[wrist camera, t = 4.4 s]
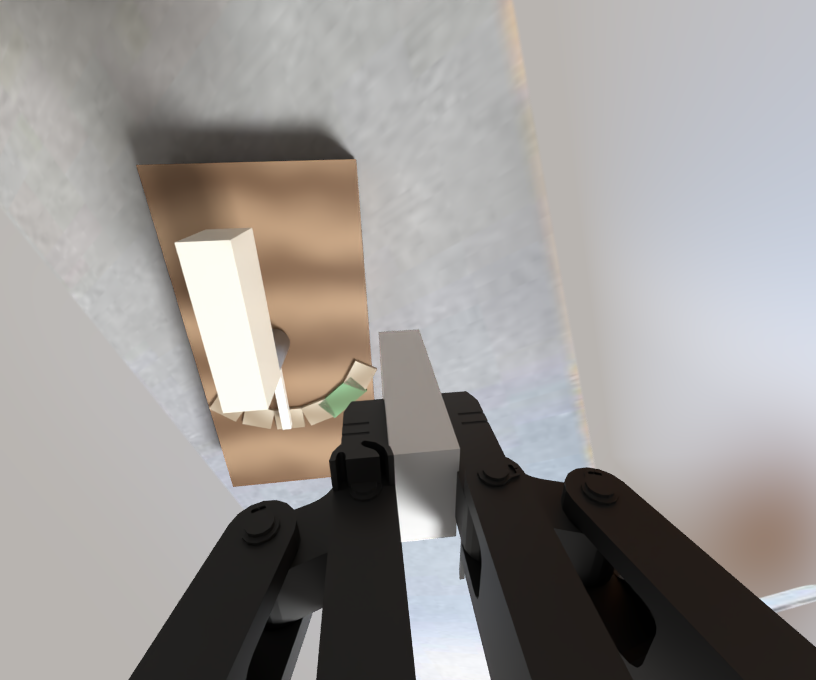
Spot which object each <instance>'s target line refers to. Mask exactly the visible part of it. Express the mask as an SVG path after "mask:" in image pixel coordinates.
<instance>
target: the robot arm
mask: <svg viewBox="0 0 816 680" xmlns="http://www.w3.org/2000/svg"><path fill="white" fill-rule="evenodd" d="M379 345H380V362H381V380H382V396H383V399H376V400H364V401H351V403H350V404H349V405H348V407H347V408H346V409H345V411H344V413H343V426H342V438H341V444H340V445H339V446H338V447H337V448H336V449H335V450H334V451H333V452H332V454H331V457H330V459H329V466H330V473H331V480H332V487H333V488H332V489H331V490H330V491H329V492H328V493H327V494H326V495H325V496H323V497H322V498H321V499H319V500H317V501H315V502H313V503H311V504H308V505H306V506H303V507H300V508H298V509H295V510H294V509H293V508H292V507H290V506H289V505H288V504H287V503H284V502H281V501H278V500H272V501H262V502H260V503H257V504H254V505H251V506H249V507H248V508H246V509H245V510H243V511H242V512H240V513H239V514H238V515H237V516H236V517H235V518H234V519H233V520H232V522H231V523H230V524H229V525H228V527H227V528H226V530H225V531H224V533H223V534H222V536H221V538H220V539H219V541H218V542H217V544H216V545H215V547H214V548H213V550H212V551H211V553H210V555H209V556H208V558H207V559H206V561H205V562H204V564H203V565H202V567H201V568H200V570H199V572H198V573H197V575H196V576H195V578H194V579H193V581H192V582H191V584H190V586H189V587H188V589H187V590H186V592H185V593H184V595H183V596H182V598H181V599H180V601H179V602H178V604H177V606H176V607H175V609H174V610H173V612H172V613H171V615H170V617H169V618H168V620H167V621H166V623H165V624H164V626H163V627H162V629H161V630H160V632H159V633H158V635H157V637H156V638H155V640H154V641H153V643H152V645H151V646H150V647H149V649H148V650H147V652H146V653H145V655H144V657H143V658H142V660H141V661H140V663H139V664H138V666H137V667H136V669H135V670H134V672H133V674H132V675H131V677H130V678H129V680H291V677H292V674H293V671H294V668H295V664H296V662H297V658H298V655H299V652H300V649H301V646H302V643H303V640H304V637H305V634H306V631H307V628H308V625H309V622H310V619H311V616H312V613H313V612H315V611H317V610H319V609H321V608H323V610H322V622H321V634H320V644H319V655H318V667H317V678H316V680H416V676H415V666H414V657H413V647H412V638H411V629H410V619H409V610H408V600H407V591H406V581H405V572H404V562H403V553H402V543H401V542H408V541H417V540H426V539H435V538H444V537H453V536H456V523H457V526H458V530H459V534H460V537H461V549H460V567H459V575H460V579H464V576H465V577H466V581H467V585H468V589H469V593H470V597H471V601H472V605H473V609H474V613H475V617H476V621H477V625H478V629H479V633H480V637H481V641H482V645H483V649H484V653H485V657H486V661H487V666H488V670H489V674H490V678H491V680H816V647H815V646H814V645H813V644H811V643H810V642H809V641H808V640H807V639H806V638H805V637H803V636H802V635H801V634H799V632H797V631H796V630H795V629H794V628H793V627H792V626H790V625H789V624H788V623H787V622H786V621H785V620H784V619H782V618H781V617H780V616H779V615H778V614H777V613H775V612H774V611H773V610H772V609H771V608H770V607H768V606H767V605H766V604H765V603H764V602H763V601H761V600H760V599H759V598H758V597H757V596H755V595H754V594H753V593H752V592H751V591H750V590H749V589H747V588H746V587H745V586H744V585H743V584H742V583H740V582H739V581H738V580H737V579H735V577H733V576H732V575H731V574H730V573H729V572H727V571H726V570H725V569H724V568H723V567H722V566H721V565H719V564H718V563H717V562H716V561H715V560H714V559H712V558H711V557H710V556H709V555H708V554H707V553H706V552H704V551H703V550H702V549H701V548H700V547H699V546H697V545H696V544H695V543H694V542H693V541H692V540H690V539H689V538H688V537H687V536H686V535H685V534H683V533H682V532H681V531H680V530H679V529H678V528H676V527H675V526H674V525H673V524H671V522H669V521H668V520H667V519H666V518H665V517H664V516H662V515H661V514H660V513H659V512H658V511H657V510H655V509H654V508H653V507H652V506H651V505H649V504H648V503H647V502H646V501H645V500H644V499H642V498H641V497H640V496H639V495H638V494H637V493H635V492H634V491H633V490H632V489H631V488H630V487H629V486H627V485H626V484H625V483H624V482H623V481H621V480H620V479H618V478H617V477H615V476H614V475H612V474H610V473H607V472H605V471H602V470H600V469H594V468H587V467H586V468H579V469H575V470H573V471H571V472H570V473H568V475H567V477H566V479H565V482H564V483H563V482H557V481H551V480H544V479H539V478H535V477H531V476H529V475H526V474H525V473H524V471H523V470H522V469H521V467H520V466H519V465H518V464H517V463H515V462H514V461H512V460H511V459H509V458H507V457H505V455H504V453H503V451H502V449H501V447H500V445H499V443H498V441H497V439H496V437H495V435H494V433H493V431H492V429H491V427H490V425H489V423H488V422H487V418H486V416H485V414H484V413H483V410H482V408H481V406H480V404H479V402H478V400H477V399H475V398H474V397H473V396H472V395H470V394H469V393H468V392H467V391H464V392H452V393H441V392H440V389H439V386H438V383H437V380H436V377H435V375H434V372H433V369H432V366H431V363H430V360H429V357H428V354H427V351H426V348H425V346H424V343H423V340H422V337H421V334H420V331H419V330H404V331H387V332H379Z"/></svg>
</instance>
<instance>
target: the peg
mask: <svg viewBox="0 0 816 680" xmlns="http://www.w3.org/2000/svg"><path fill="white" fill-rule="evenodd" d="M174 243H175V246H176V250H177V253H178V257H179V260H180V264H181V267H182V271H183V274H184V278H185V281H186V285H187V288H188V292H189V295H190V299H191V302H192V306H193V309H194V313H195V316H196V320H197V323H198V327H199V330H200V334H201V337H202V341H203V344H204V348H205V351H206V355H207V358H208V362H209V365H210V369H211V372H212V376H213V379H214V383H215V386H216V390H217V393H218V397H219V401H220V404H221V408H222V411H223V413H232V412H244V411H256V410H268V408H269V406H270V403H271V401H272V398H273V395H274V393H275V395H276V399H277V404H278V409H279V414H280V419H281V423H282V428H283V430H285V429H291V428H292V420H291V415H290V410H289V405H288V399H287V394H286V389H285V384H284V379H283V373H282V368H281V367H282V365H283V362H284V360H285V357H286V355H287V352H288V350H289V347H290V340H289V337H288V336H287V335H286V334H285V333H284V332H283V331H281V330H279V329H272V327H271V322H270V317H269V312H268V307H267V301H266V296H265V291H264V286H263V281H262V276H261V271H260V266H259V260H258V255H257V250H256V245H255V240H254V235H253V230H252V228H230V229H206V230H203V231H201V232H198V233H196V234H194V235H191V236H189V237H186V238H184V239H182V240H179V241H177V242H174Z"/></svg>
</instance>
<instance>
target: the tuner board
mask: <svg viewBox="0 0 816 680" xmlns="http://www.w3.org/2000/svg"><path fill="white" fill-rule="evenodd" d="M136 166H137V169H138V173H139V176H140V179H141V183H142V186H143V189H144V193H145V196H146V199H147V203H148V206H149V209H150V213H151V216H152V219H153V222H154V226H155V229H156V232H157V236H158V239H159V242H160V246H161V249H162V252H163V256H164V259H165V262H166V266H167V269H168V272H169V276H170V279H171V282H172V285H173V289H174V292H175V295H176V299H177V302H178V305H179V309H180V312H181V315H182V319H183V322H184V325H185V329H186V332H187V335H188V338H189V342H190V345H191V348H192V352H193V355H194V358H195V362H196V365H197V368H198V372H199V375H200V378H201V382H202V385H203V388H204V392H205V395H206V398H207V401H208V405H209V409H210V411H211V415H212V418H213V421H214V425H215V428H216V431H217V435H218V438H219V441H220V445H221V448H222V451H223V454H224V458H225V461H226V464H227V468H228V471H229V474H230V478H231V481H232V484H233V487H236V486H246V485H256V484H266V483H276V482H286V481H296V480H306V479H316V478H326V477H331V473H330V466H329V459H330V457H331V454H332V452H333V451H334V450H335V449H336V448H337V447H338V446H339V445H340V444H341V438H342V426H343V413H344V411H345V409H346V408H347V407H348V405H349V404H350V403H351V401H364V400H374V389H373V376H374V374H375V372H376V371H377V368H375V367H373V366H372V362H371V349H370V336H369V322H368V309H367V296H366V283H365V269H364V256H363V243H362V230H361V216H360V203H359V190H358V177H357V163H356V159H345V160H307V161H269V162H231V163H193V164H155V165H136ZM230 228H252V230H253V235H254V240H255V245H256V250H257V255H258V260H259V266H260V271H261V276H262V281H263V286H264V291H265V296H266V301H267V307H268V312H269V317H270V322H271V327H272V329H279V330H281V331H283V332H284V333H285V334H286V335H287V336H288V337H289V340H290V347H289V350H288V352H287V355H286V357H285V360H284V362H283V365H282V367H281V368H282V373H283V379H284V384H285V389H286V394H287V399H288V405H289V410H290V415H291V420H292V428H291V429H285V430H283V428H282V423H281V419H280V414H279V409H278V404H277V399H276V395H275V393H274V395H273V398H272V401H271V403H270V406H269V408H268V410H256V411H244V412H232V413H223V411H222V408H221V404H220V401H219V397H218V393H217V390H216V386H215V383H214V379H213V376H212V372H211V369H210V365H209V362H208V358H207V355H206V351H205V348H204V344H203V341H202V337H201V334H200V330H199V327H198V323H197V320H196V316H195V313H194V309H193V306H192V302H191V299H190V295H189V292H188V288H187V285H186V281H185V278H184V274H183V271H182V267H181V264H180V260H179V257H178V253H177V250H176V246H175V243H174V242H177V241H179V240H182V239H184V238H186V237H189V236H191V235H194V234H196V233H198V232H201V231H203V230H206V229H230Z"/></svg>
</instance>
